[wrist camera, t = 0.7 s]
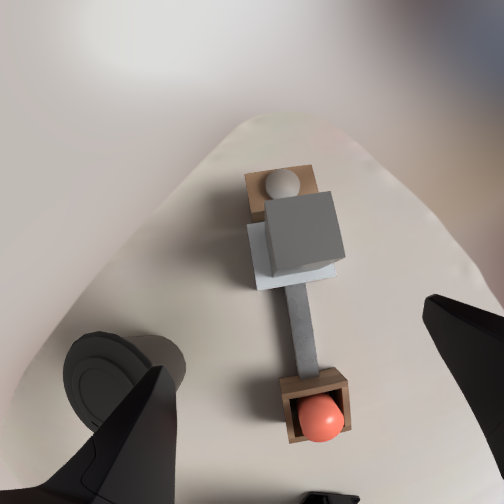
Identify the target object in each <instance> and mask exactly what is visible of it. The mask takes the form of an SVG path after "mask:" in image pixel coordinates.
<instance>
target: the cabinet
mask: <svg viewBox="0 0 504 504" xmlns="http://www.w3.org/2000/svg"><path fill="white" fill-rule="evenodd" d="M279 382H280V389H281V395H282V401H283V407H284V414H285V420H286V426H287V432H288V439H289V444H290V443H296V442H301V441H307V440H309V439H307V438H306V437H305V436H304V434H303V432H302V428H301V425H300V421H299V417H298V416H296V417H292V415H291V408H290V401H289V399H293V398H298V397H303V396H308V395H313V394H318V393H322V392H327V391H331V390H332V394H333V401H334V402H335V404H336V405H337V407H338V408H339V410H340V411H341V413H342V415H343V417H344V425H343V428H342V430H341V431H340V433H341V432H345V431H349V430H351V414H350V401H349V389H348V380H347V379H346V378H345V377H344V376H343V375H342V374H341V373H340V372H339V371H338V370H337V369H336V368H335V367H334V368H330V369H326V370H321V371H319V377H316V378H311V379H306V380H301V381H300V379H299V376H298V375H297V376H291V377H286V378H280V379H279Z"/></svg>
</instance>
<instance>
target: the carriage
mask: <svg viewBox="0 0 504 504" xmlns="http://www.w3.org/2000/svg"><path fill="white" fill-rule="evenodd" d="M264 217H265V221H264V222H258V223H253V224H247V231H248V237H249V243H250V249H251V255H252V261H253V267H254V273H255V279H256V285H257V291H261V290H267V289H273V288H277V287H283V286H288V285H294V284H300V283H305V282H310V281H317V280H323V279H328V278H332V277H336V276H337V275H336V270H335V264H334V262H336V261H338V260H340V259H343V258H345V252H344V247H343V242H342V238H341V233H340V229H339V224H338V220H337V216H336V211H335V207H334V203H333V199H332V195H331V191H328V192H320V193H313V194H306V195H299V196H292V197H286V198H279V199H273V200H267V201H264Z"/></svg>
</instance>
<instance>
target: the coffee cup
mask: <svg viewBox="0 0 504 504" xmlns="http://www.w3.org/2000/svg"><path fill="white" fill-rule="evenodd" d="M161 364H162V365H165V366H166V368H167V369H168V371H169V373H170V374H171V376H172V378H173V379H174V382H175V386H176V391H177V390H178V388H179V386H180V384H181V382H182V380H183V378H184V375H185V372H186V363H185V360H184V357H183V354H182V353H181V351H180V349H179V348H178V347H177V346H176V345H175V344H174V343H173V342H172V341H171V340H168V339H166V338H164V337H161V336H138V337H120V336H118V335H116V334H111V333H106V332H101V331H98V332H93V333H88V334H84V335H83V336H82V337H80V338H79V339H78V340H76V341H75V342H74V343H73V345H72V346H71V348H70V350H69V352H68V354H67V355H66V358H65V362H64V367H63V382H64V387H65V391H66V394H67V397H68V400H69V402H70V404H71V406H72V408H73V410H74V411H75V413H76V414H77V416H78V417H79V418H80V420H81V421H82V422H83V423H84V424H85V425H86V426H87V427H88V428H89V429H90V430H91V431H93V432H94V433H95V431H96V430H97V429H98V428H99V427H100V426H101V424H102V423H103V422H104V421H105V420H106V419H107V417H108V416H109V415H110V414H111V413H112V412H113V410H114V409H115V408H116V407H117V406H118V405H119V403H120V402H121V401H122V400H123V399H124V398H125V397H126V395H127V394H128V393H129V392H130V391H131V390H132V388H133V387H134V386H135V385H136V384H137V383H138V381H139V380H140V379H141V378H142V377H143V376H144V374H145V373H146V372H147V371H148V370H149V369H150V367H152V366H153V365H161Z"/></svg>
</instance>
